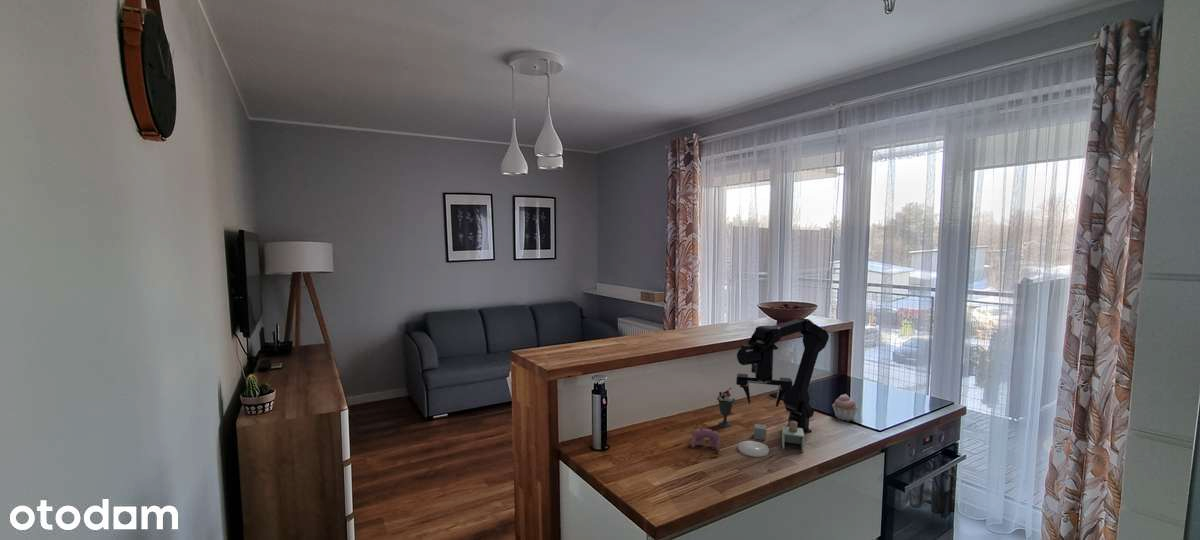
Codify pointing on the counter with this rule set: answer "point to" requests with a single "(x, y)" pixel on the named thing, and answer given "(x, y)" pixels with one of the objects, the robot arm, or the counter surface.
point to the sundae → (725, 406)
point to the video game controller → (706, 433)
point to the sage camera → (793, 434)
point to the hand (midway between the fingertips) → (762, 405)
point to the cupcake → (845, 408)
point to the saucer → (753, 448)
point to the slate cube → (760, 432)
